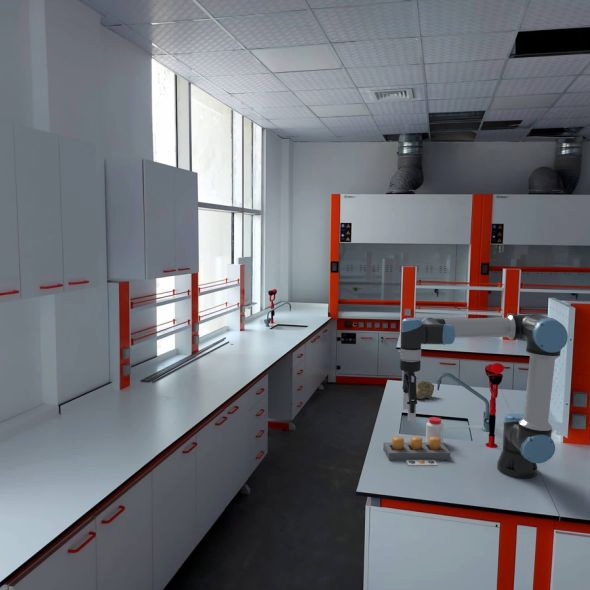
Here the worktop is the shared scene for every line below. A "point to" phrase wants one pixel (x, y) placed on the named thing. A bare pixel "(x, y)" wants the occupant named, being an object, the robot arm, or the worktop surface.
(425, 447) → the board
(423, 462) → the pattern card
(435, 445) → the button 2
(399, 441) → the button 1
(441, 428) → the pill bottle
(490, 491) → the worktop surface
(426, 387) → the rock
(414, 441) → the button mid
